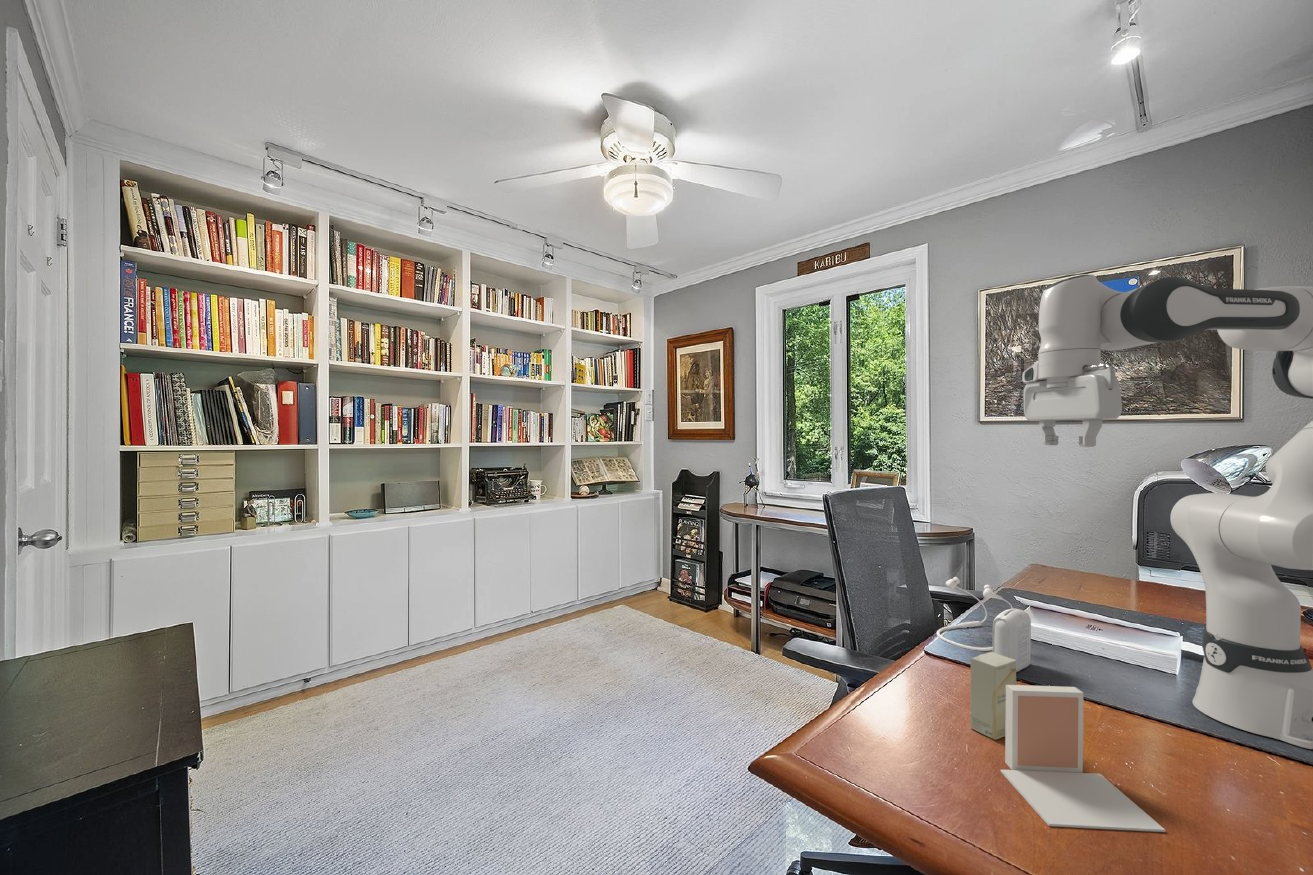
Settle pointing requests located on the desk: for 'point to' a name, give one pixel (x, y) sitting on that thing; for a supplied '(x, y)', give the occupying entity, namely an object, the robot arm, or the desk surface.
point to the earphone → (987, 594)
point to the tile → (1044, 728)
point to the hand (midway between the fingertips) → (1068, 446)
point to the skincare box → (990, 692)
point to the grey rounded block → (1013, 636)
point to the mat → (1079, 801)
